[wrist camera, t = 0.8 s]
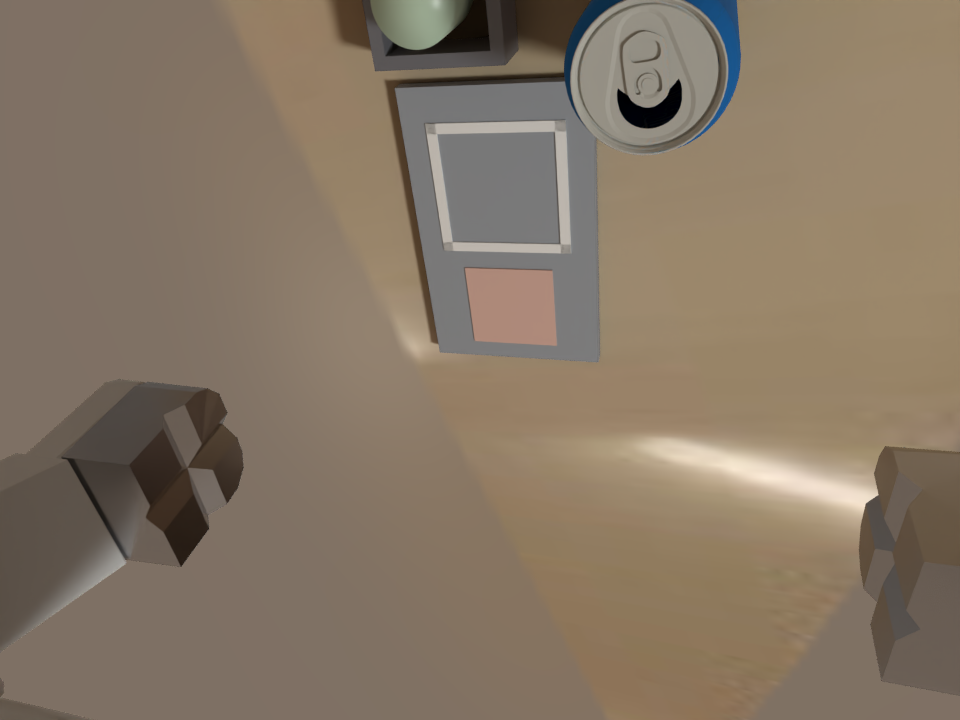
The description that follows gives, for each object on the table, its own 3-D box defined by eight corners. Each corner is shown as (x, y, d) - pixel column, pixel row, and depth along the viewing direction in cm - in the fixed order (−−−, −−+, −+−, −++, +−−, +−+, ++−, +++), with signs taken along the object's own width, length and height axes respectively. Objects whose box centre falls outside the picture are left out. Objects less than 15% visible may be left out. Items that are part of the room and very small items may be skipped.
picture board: (399, 83, 41) (394, 88, 41) (595, 75, 38) (592, 80, 38) (443, 345, 52) (439, 353, 51) (599, 355, 49) (598, 363, 48)
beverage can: (608, 87, 39) (573, 176, 29) (590, -50, 35) (543, 2, 26) (738, 65, 36) (744, 154, 27) (733, -83, 33) (738, -39, 24)
